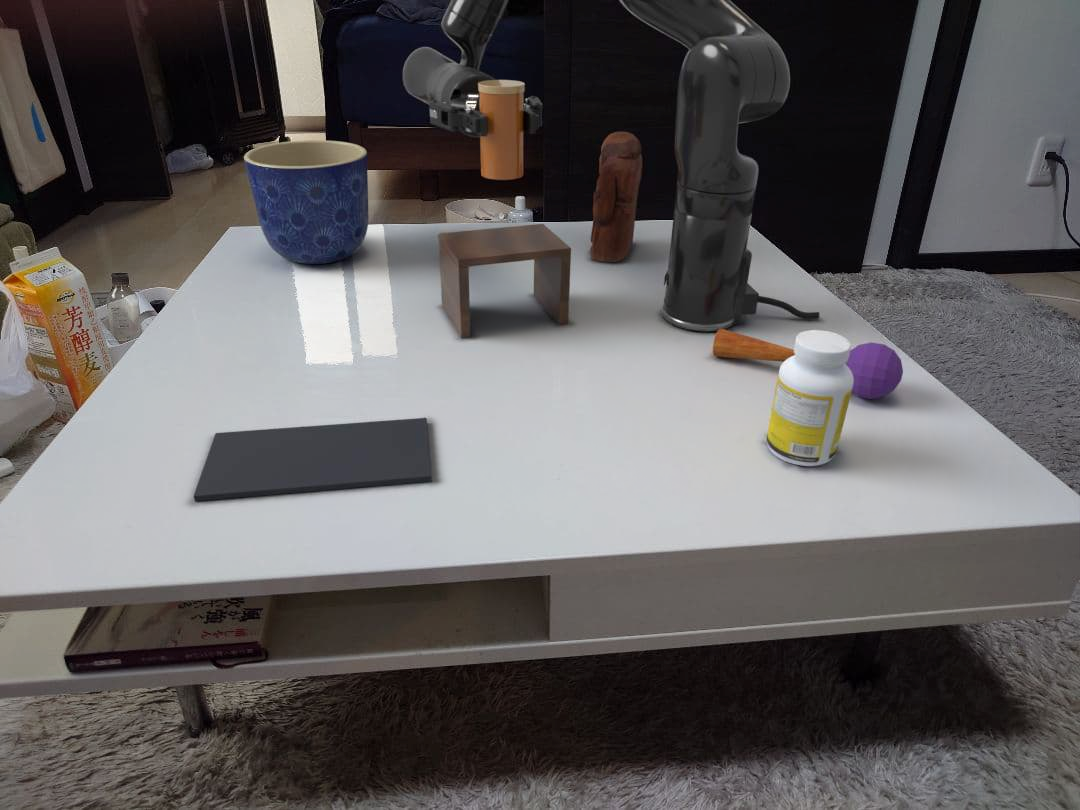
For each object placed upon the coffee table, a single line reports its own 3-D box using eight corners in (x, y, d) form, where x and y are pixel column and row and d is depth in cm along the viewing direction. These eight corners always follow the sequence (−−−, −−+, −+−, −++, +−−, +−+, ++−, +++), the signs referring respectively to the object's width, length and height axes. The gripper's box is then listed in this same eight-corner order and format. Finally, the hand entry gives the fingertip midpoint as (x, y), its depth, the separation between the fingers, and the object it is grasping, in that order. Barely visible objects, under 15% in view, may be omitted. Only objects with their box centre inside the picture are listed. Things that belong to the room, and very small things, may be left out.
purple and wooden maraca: (730, 313, 92) (911, 343, 82) (723, 361, 94) (900, 396, 84) (712, 321, 87) (902, 354, 77) (705, 372, 89) (891, 410, 79)
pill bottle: (821, 431, 77) (846, 325, 71) (845, 469, 71) (875, 357, 65) (756, 432, 77) (776, 325, 71) (775, 469, 71) (799, 357, 65)
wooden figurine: (599, 238, 127) (606, 124, 118) (637, 242, 126) (647, 127, 117) (584, 262, 117) (590, 139, 108) (625, 266, 116) (635, 143, 107)
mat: (426, 422, 77) (426, 417, 77) (431, 481, 69) (431, 475, 68) (216, 438, 74) (215, 432, 74) (194, 501, 66) (193, 495, 65)
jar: (521, 168, 93) (521, 79, 88) (527, 179, 89) (528, 86, 84) (478, 169, 92) (475, 80, 87) (482, 180, 88) (480, 87, 83)
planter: (290, 283, 108) (272, 173, 100) (244, 250, 119) (225, 149, 111) (396, 258, 117) (388, 156, 109) (344, 230, 128) (334, 135, 121)
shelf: (541, 294, 106) (543, 223, 101) (568, 323, 98) (571, 247, 93) (441, 307, 102) (438, 233, 97) (461, 338, 94) (458, 259, 89)
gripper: (411, 70, 95) (444, 91, 81) (521, 67, 99) (570, 86, 86) (415, 133, 99) (447, 164, 85) (521, 127, 103) (568, 156, 89)
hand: (509, 125), depth 85 cm, fingers closed on jar, 5 cm apart
